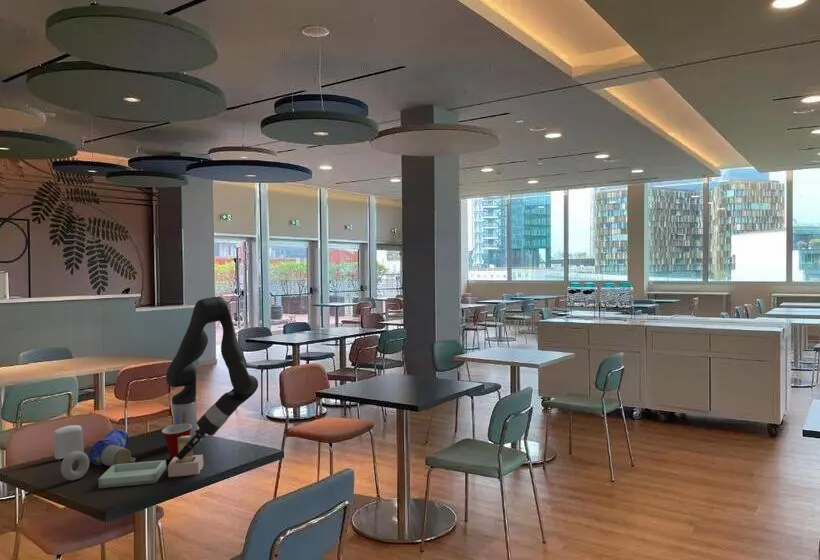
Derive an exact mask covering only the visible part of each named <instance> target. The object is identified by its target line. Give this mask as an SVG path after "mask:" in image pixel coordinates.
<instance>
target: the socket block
mask: <svg viewBox="0 0 820 560" xmlns="http://www.w3.org/2000/svg"><path fill="white" fill-rule="evenodd" d="M203 467H204V454H193V462H184V463H179V459H178V458H177V457H174V458H173V459H172V460H171V461H170V462H169V464H168V465H167V472H168V473H167V474H168V475H167V477H168V478H173V477H174V478H175V477H184V476H194V475H195V476H197V475H200V474H201V471H202V469H203ZM200 470H201V471H200Z"/></svg>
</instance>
